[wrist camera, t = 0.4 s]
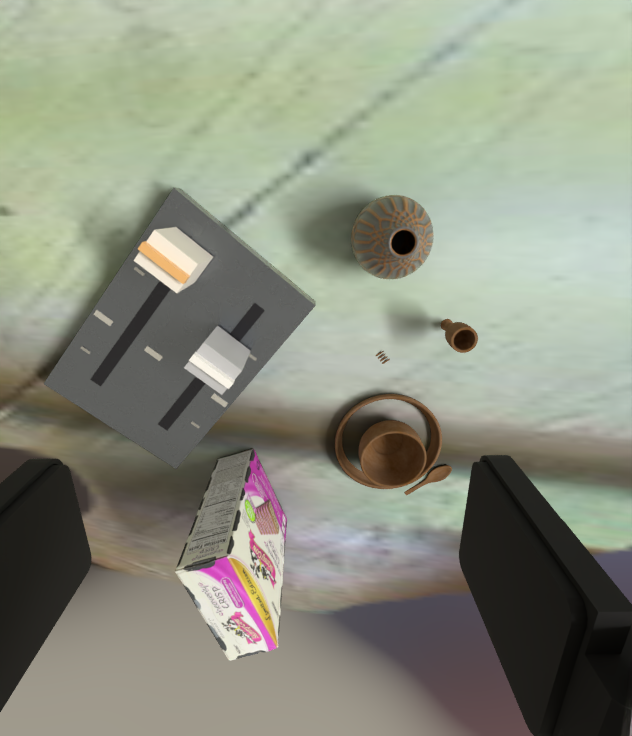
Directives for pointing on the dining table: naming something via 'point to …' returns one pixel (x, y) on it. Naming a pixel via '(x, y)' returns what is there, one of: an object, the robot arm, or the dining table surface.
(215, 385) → the grey fader
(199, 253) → the ivory fader
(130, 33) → the dining table surface
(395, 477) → the place setting
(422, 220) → the vase
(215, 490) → the candy bar box
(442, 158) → the dining table surface
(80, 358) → the console
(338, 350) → the dining table surface
